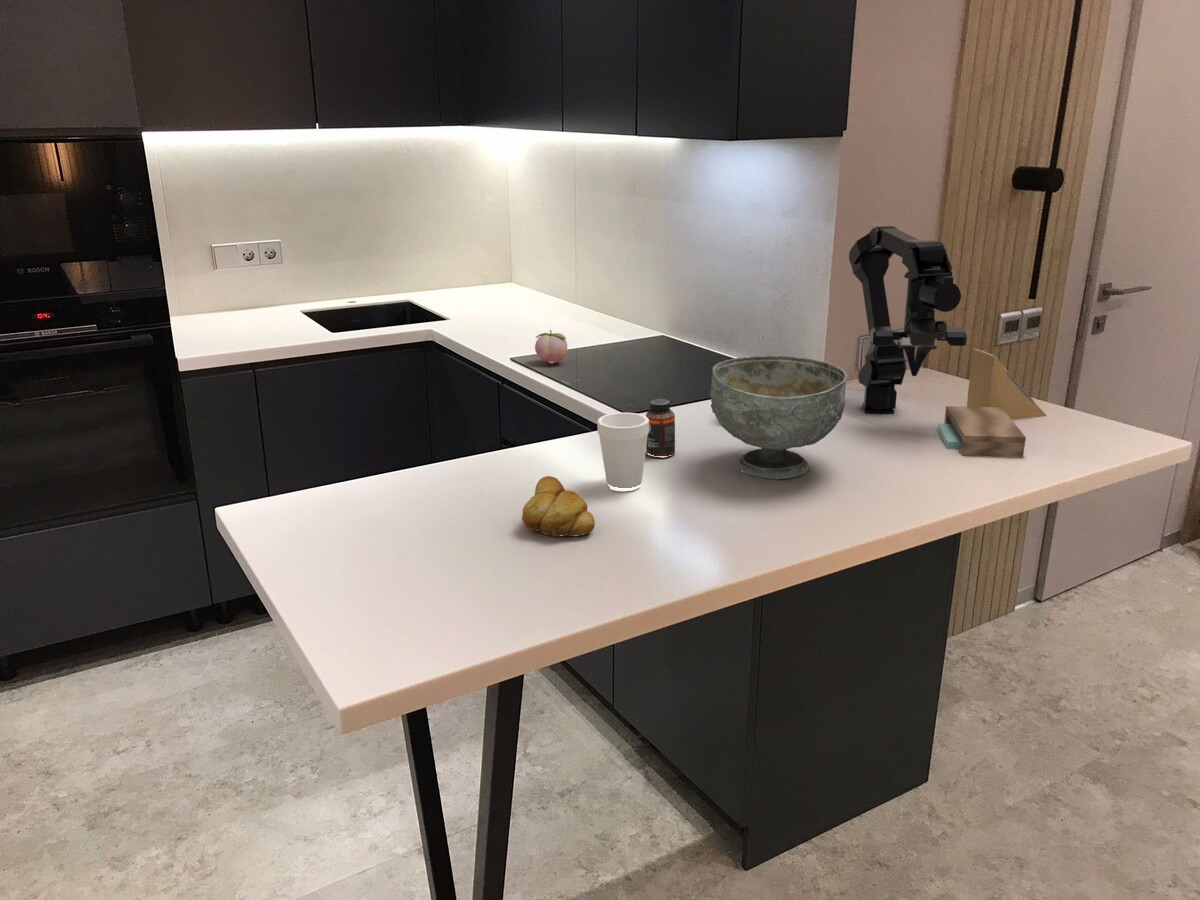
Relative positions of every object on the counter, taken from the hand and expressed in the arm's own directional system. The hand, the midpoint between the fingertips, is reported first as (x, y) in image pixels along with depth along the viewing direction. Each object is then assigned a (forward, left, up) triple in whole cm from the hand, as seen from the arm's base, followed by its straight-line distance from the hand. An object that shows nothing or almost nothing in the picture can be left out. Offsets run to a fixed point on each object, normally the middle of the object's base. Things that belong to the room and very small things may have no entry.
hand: (913, 375), depth 198 cm
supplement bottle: (-52, -21, -12) cm, 57 cm away
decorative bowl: (-29, -27, -12) cm, 41 cm away
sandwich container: (+23, +14, -12) cm, 30 cm away
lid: (+12, -6, -13) cm, 18 cm away
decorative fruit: (-90, +50, -12) cm, 104 cm away
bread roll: (-65, -60, -12) cm, 89 cm away
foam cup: (-57, -39, -12) cm, 70 cm away
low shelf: (+14, -6, -12) cm, 19 cm away
